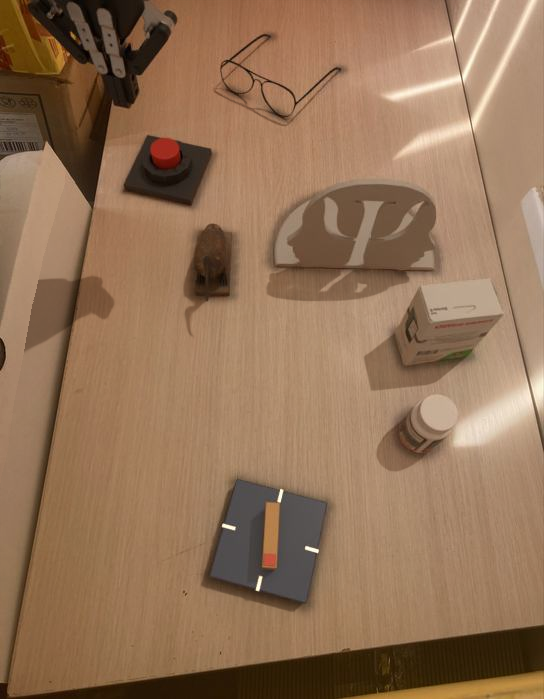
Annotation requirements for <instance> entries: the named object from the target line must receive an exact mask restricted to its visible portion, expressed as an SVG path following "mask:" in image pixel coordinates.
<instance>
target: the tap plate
mask: <svg viewBox="0 0 544 699" xmlns="http://www.w3.org/2000/svg"><path fill="white" fill-rule="evenodd" d="M233 486H234V487H233V490H232V493H231V497H230V501H229V503H228V507H227V511H226V516H225V518H224V521H223V523H222V525H221V528H222V529H221V533H220V536H219V539H218V544H217V546H216V550H215V554H214V557H213V561H212V565H211V568H210V572H209V577H210V578H213V579H215V580H220V581H223V582H227V583H230V584H233V585H237V586H241V587H245V588H248V589H251V590H255V591H256V592H261V593H262V592H263V593H266V594H269V595H273V596H275V597H276V596H277V597H279V598H284V599H287V600H291V601H294V602H298V603H301V604H307V603H308V599H309V594H310V590H311V585H312V580H313V575H314V569H315V566H316V561H317V554H319V552H320V549H319V545H320V541H321V536H322V530H323V526H324V521H325V517H326V513H327V512H326V511H327V507H328V506H327V505H328V502H326V501H324V500H323V501H322V500H319V499H315V498H311V497H307V496H303V495H300V494H296V493H293V492H288V491H285V490H284V489H283V488H280V489H277V488H273V487H270V486H266V485H261V484H258V483H254V482H251V481H247V480H243V479H239V478H236V480H235V483H234V485H233ZM266 502H275V503H280V513H279V534H278V554H277V568H276V569H275V570H264V569H262V551H263V535H264V518H265V505H266Z"/></svg>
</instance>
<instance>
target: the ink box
mask: <svg viewBox="0 0 544 699" xmlns="http://www.w3.org/2000/svg"><path fill="white" fill-rule="evenodd" d="M505 313H506V312H505V309H504V307H503V303H502V302H501V299H500V296H499V294H498V291H497V287H496V286H495V283H494V281H493V279H492V278H491V277H488V278H487V277H486V278H477V279H466V280H458V281H447V282H439V283H430V284H421V285H419V286H418V288H417V289H416V292H415V294H414V296H413V297H412V299H411V301H410V303H409V305H408V307H407V309H406V310H405V313H404V315H403V316H402V318H401V320H400V323H399V324H398V326H397V328H396V330H395V332H394V336H395V339H396V340H395V341H396V344H397V348H398V351H399V355H400V358H401V362H402V364H403V365H404V366H412V365H420V364H425V363H426V364H427V363H433V362H440V361H447V360H453V359H460V358H467V357H469V355H470V354H471V353H472V352H473V351H474V350H475V348H476V347H477V346H478V345H479V344H480V342H481V341H482V340H483V339H484V338H485V337H486V336H487V334H488V333H490V331H491V330H492V329H493V328H494V327H495V326H496V324H498V322H499V321H500V320H501V319H502V317H503V316H504V315H505Z"/></svg>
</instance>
